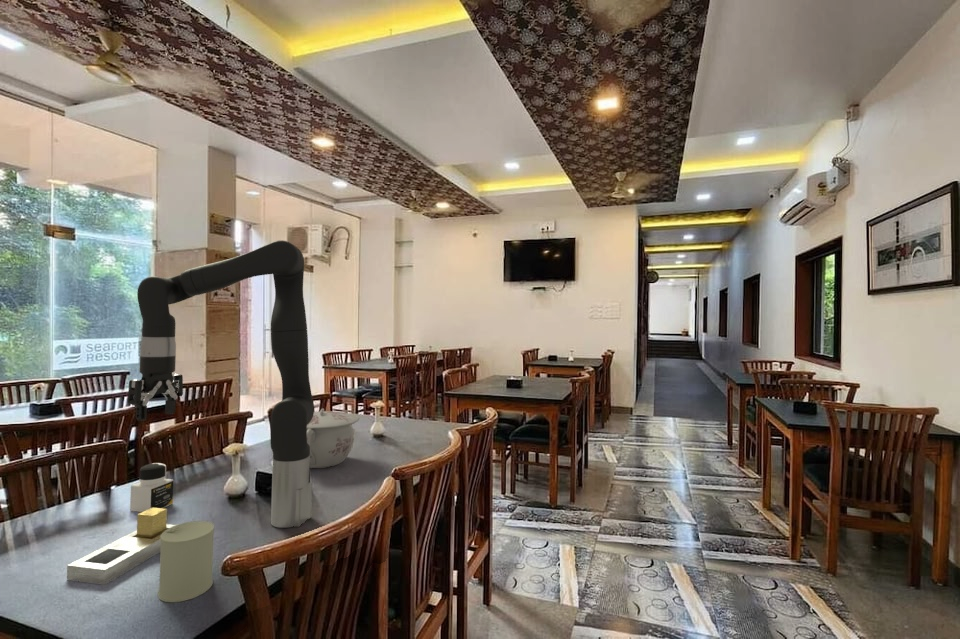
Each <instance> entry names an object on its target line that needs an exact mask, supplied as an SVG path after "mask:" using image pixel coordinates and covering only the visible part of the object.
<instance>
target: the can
mask: <svg viewBox="0 0 960 639" xmlns="http://www.w3.org/2000/svg"><path fill="white" fill-rule="evenodd" d="M175 525H176V526H173V527H171V528H169V529H167V530H165V531H164V532H163V533H162V534H161V536H160V539H161V552H159V553H160V557H159V558H160V560H159V562H160V563H159V564H160V565H159V587H158V593H157V597H158V598H159V600H160V601H162V602H164V603H165V602H166V603H180V602H185V601H189V600H192V599H195V598H197V597H200V596H201V595H203V594H204V593H206V592H207V591H208V590H210V588H212V586H213V583H214V579H213V562H214V561H213V560H214V559H213V558H214V532H215V524H214V523H212V522H211V521H208V520H207V521H205V520H193V521H189V522H188V521H187V522H182V523H179V524H175Z"/></svg>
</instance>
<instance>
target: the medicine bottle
mask: <svg viewBox="0 0 960 639" xmlns="http://www.w3.org/2000/svg"><path fill="white" fill-rule="evenodd" d="M172 504H174V479H171V478H167V465H166V464H165V463H161V462H153V463H148V464H145V465H143V466H141V467H140V469H139V481H138V482H137V483H134V484H132V485H131V486H130V503H129V510H130V511H131V512H137V513H142V512H144V511H146V510H148V509H150V508H163V509H165V508H166V507H168V506H171V505H172Z"/></svg>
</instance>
